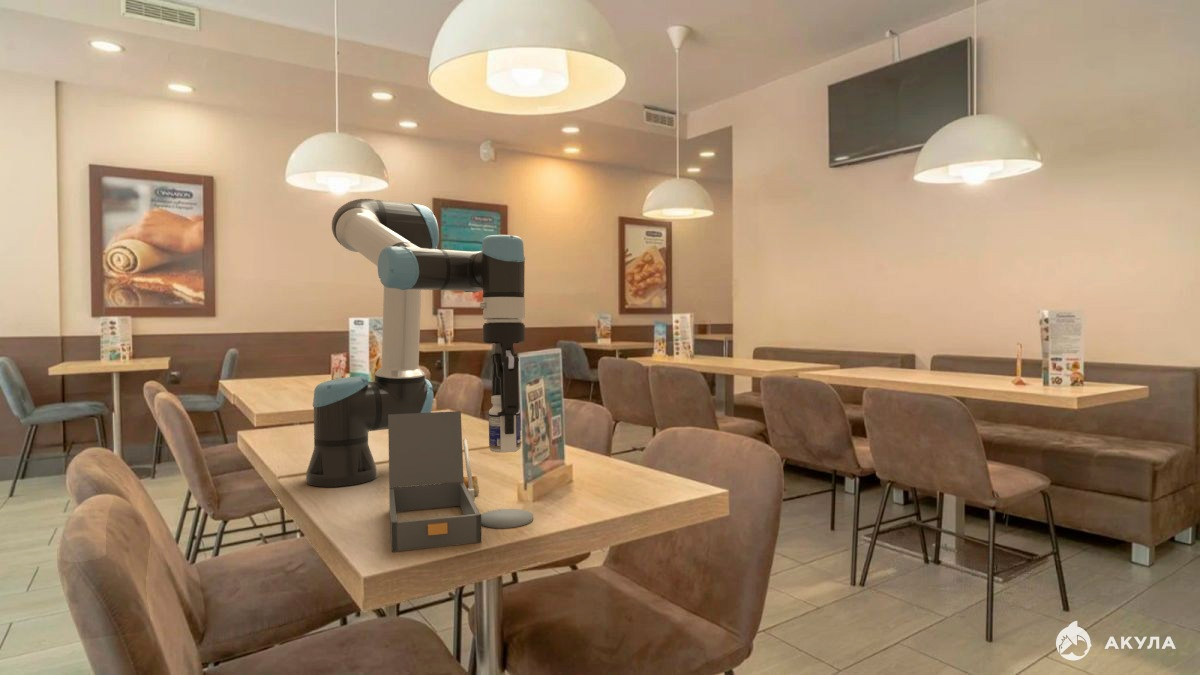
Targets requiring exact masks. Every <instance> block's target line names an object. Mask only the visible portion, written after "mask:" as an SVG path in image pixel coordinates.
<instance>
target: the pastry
mask: <svg viewBox="0 0 1200 675" xmlns="http://www.w3.org/2000/svg"><path fill="white" fill-rule="evenodd" d="M463 477H464V484H465V486H466V488H467V489H468V488H469V485H468V477H467V476H463ZM472 482H473V489H474V497H478V496H479V494H480V487H479V483H478V477H477V476H476V475H473V476H472ZM455 483H456V482H455ZM442 484H444V483H442Z"/></svg>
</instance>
